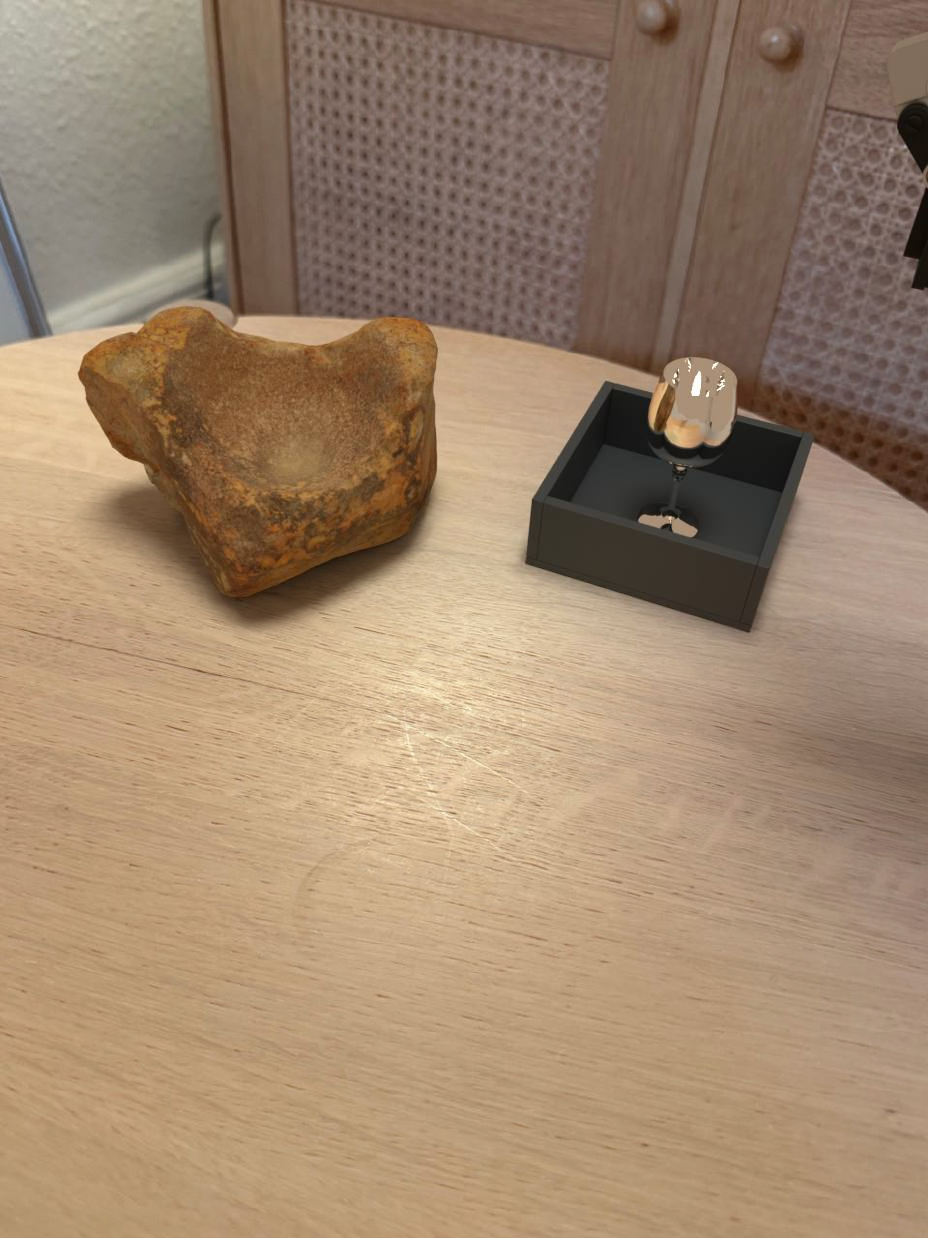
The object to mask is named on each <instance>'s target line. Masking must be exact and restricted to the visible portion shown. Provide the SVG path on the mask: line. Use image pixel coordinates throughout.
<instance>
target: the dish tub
mask: <svg viewBox="0 0 928 1238" xmlns="http://www.w3.org/2000/svg"><path fill="white" fill-rule="evenodd" d="M652 394H653V392H651V391H648V390H645V389H641V388H636V387H633V386H628V385H624V384H620V383H616V382H612V381H609V380H605V381H604V382H603V383H602V385H601V387H600V389H598V391H597V392H596V394H595V396H594V398H593V400H592V401H591V403H590V405H589V407H588V408H587V409H586V411H585V413H584V414H583V416H582V417H581V419H580V420H579V422H578V424H577V426H576V427H575V429H574V430H573V432H572V433H571V436H569V439H568V440H567V442H566V443H565V444H564V446H563V448H562V450H561V452H560V453H559V454H558V456H557V458H556V459H555V461H554V463H553V464H552V466H551V468H550V469H549V471H548V472H547V473H546V476H545V478H543V480H542V482H541V484H540V485H539V487H538V489H537V490H536V492H535V493H534V495H533V497H532V498H531V503H530V515H529V524H528V534H527V544H526V553H525V554H526V555H525V564H528V565H530V566H534V567H537V568H540V569H543V570H547V571H551V572H553V573H557V574H560V575H563V576H566V577H569V578H572V579H576V580H580V581H581V582H582V581H583V582H586V583H589V584H592V585H595V586H599V587H602V588H605V589H608V590H612V591H614V592H619V593H621V594H625V595H628V596H631V597H634V598H638V599H641V600H644V601H647V602H651V603H655V604H657V605H661V606H663V607H667V608H670V609H673V610H676V611H680V612H683V613H686V614H689V615H692V616H696V617H699V618H703V619H705V620H709V621H712V622H715V623H718V624H722V625H726V626H728V627H731V628H735V629H738V630H742V631H745V632H748V633H750V632H751V630H752V626H753V624H754V621H755V618H756V614H757V613H758V609H759V606H760V604H761V603H760V602H761V600H762V596H763V593H764V590H765V588H766V585H767V583H768V582H767V581H768V579H769V577H770V573H771V570H772V567H773V564H774V561H775V559H776V555H777V552H778V549H779V546H780V543H781V540H782V539H783V538H782V537H783V534H784V532H785V529H786V525H787V522H788V520H789V517H790V514H791V510H792V508H793V504H794V502H795V499H796V496H797V492H798V489H799V486H800V483H801V480H802V477H803V473H804V471H805V468H806V465H807V461H808V458H809V455H810V453H811V448H812V446H813V442H814V440H815V436H816V434H815V433H811V432H808V431H803V430H799V429H796V428H792V427H788V426H784V425H781V424H776V423H773V422H770V421H765V420H762V419H761V420H760V419H756V418H754V417H750V416H746V415H745V416H744V415H741V414H738V413H737V421H736V426H735V431H734V434H733V437H732V440H731V442H730V444H729V446H728V448H727V449H726V451H725V452H724V453H723V454H722V455H721V456H720V457H719V458H718V459H717V460H715V461H714V462H712V463H710V464H708V465H705V466H702V467H697V468H687V474H686V476H685V478H684V480H683V481H682V483H681V486H680V488H679V491H678V496H677V501H676V504H678V505H681V506H683V507H685V508H687V509H689V510H690V511H691V512H693V513H694V514H695V515H696V517H697V518H698V520H699V523H700V529H699V532H698V534H697V535H696V536H695V537H694V538H691V537H688V536H684V535H681V534H677V533H674V532H670V531H667V530H664V529H660V528H657V527H653V526H650V525H646V524H643V523H639V522H637V516H638V513H639V512H640V510H641V509H642V508H644V507H645V506H647V505H649V504H653V503H658V502H668V503H669V502H670V497H671V493H672V469H673V467H674V465H672V464H669V463H667V462H665V461H663V460H662V459H661V458H659V457H658V456H657V455H656V454H655V453H654V451H653V450H652V449H651V447H650V445H649V443H648V441H647V437H646V430H645V424H646V414H647V410H648V406H649V402H650V400H651V397H652Z"/></svg>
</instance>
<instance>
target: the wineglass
mask: <svg viewBox="0 0 928 1238" xmlns="http://www.w3.org/2000/svg"><path fill="white" fill-rule="evenodd" d="M652 393H653V394H652V397H651V400H650V402H649V406H648V410H647V414H646V424H645V430H646V437H647V441H648V443H649V445H650V447H651V449H652V450H653V451H654V453H655V454H656V455H657V456H658V457H659V458H661V459H662V460H663V461H665V462H667V463H669V464H672V465H674V467H673V469H672V493H671V497H670V502H669V503H668V502H658V503H653V504H649V505H647V506H645V507H644V508H642V509H641V510H640V512H639V513H638V516H637V522H639V523H643V524H646V525H650V526H653V527H657V528H660V529H664V530H667V531H670V532H674V533H677V534H681V535H684V536H688V537H691V538H694V537H695V536H696V535H697V534H698V532H699V529H700V523H699V520H698V518H697V517H696V515H695V514H694V513H693V512H691V511H690V510H689V509H687V508H685V507H683V506H681V505H678V504H676V501H677V496H678V491H679V488H680V486H681V483H682V481H683V480H684V478H685V476H686V474H687V468H697V467H702V466H705V465H708V464H710V463H712V462H714V461H715V460H717V459H718V458H719V457H720V456H721V455H722V454H723V453H724V452H725V451H726V449H727V448H728V446H729V444H730V442H731V440H732V437H733V434H734V431H735V426H736V421H737V414H738V407H739V398H738V397H739V395H738V394H739V393H738V378H737V376H736V374H735V373H734V371H733V370H732V369H730V368H729V367H728V366H727V365H725V364H723V363H721V362H719V361H716V360H713V359H710V358H705V357H700V356H699V357H698V356H697V357H696V356H689V357H680V358H677V359H675V360H672V361H670V362H668V363H667V364H666V366H665V367H664V369H663V371H662V373H661V375H660V377H659V379H658V381H657V383H656V385H655V387H654V390H653V392H652Z"/></svg>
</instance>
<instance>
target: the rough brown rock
mask: <svg viewBox="0 0 928 1238" xmlns="http://www.w3.org/2000/svg"><path fill="white" fill-rule="evenodd" d="M438 353H439V348H438V343H437V341H436V339H435V336H434V333H433V331H432V330H431V328H430V327H429V326H428V325H427V324H425V322H423V321H422V320H419V319H416V318H409V317H402V316H382V317H379V318H376V319H373V320H371V321H369V322H367V323H365V324H363V325H362V326H361V327H360V328H359V329H357V330H356V331H354V332H351V333H349V334H347V335H345V336H343V337H341V338H338V339H335V340H332V341H331V342H327V343H323V344H319V345H310V344H309V345H308V344H305V343H299V342H292V341H282V340H281V341H277V340H273V339H270V338H267V337H264V336H262V335H255V334H249V333H245V332H241V331H237V330H234V329H233V328H231V327H229V326H228V325H227V323H224V322H223V321H222V320H221V319H219V318H217V317H216V316H215V315H214V314H213V313H212V312H211V311H210V310H208V309H205V308H203V307H200V306H191V305H183V306H178V307H171V308H167V309H164V310H161V311H159V312H158V313H156V314H155V315H154V316H152V317H151V318H150V319H149V320H148V321H147V322H146V323H144V325H142V327H141V328H140V329H139V330H138V331H137V332H133V331H129V332H125V333H121V334H118V335H115V336H112V337H109V338H107V339H105V340H102V341H101V342H99V343H98V344H97V345H95V346H94V347H93V348H91V349H90V350H88V351H87V352H86V353H85V354H83V356H82V359H81V363H80V366H79V370H78V371H77V377H78V380H79V381H80V383H81V385H82V387H84V393H85V401H86V403H87V406H88V407H89V410H90V411H91V413H92V415H93V416H94V418H95V420H96V421H97V423H98V425H99V426H100V428H101V430H102V432H103V433H104V435H105V437H106V439H107V440H108V441H109V444H110V446H111V448H112V449H114V450H115V451H117V452H118V454H119V455H121V456H123V457H124V458H125V459H127V460H130V461H134V462H138V463H140V464H142V465H143V467H144V470H145V473H146V475H147V478H148V480H149V482H150V483H151V484H152V485H154V486H155V487H156V489H158V491H159V492H160V493H161V494H162V496H163V497H164V498H165V500H166V501H167V503H168V504H169V505H170V506H171V507H172V508H173V509H175V510H177V511H178V512H180V513H181V514H182V516H183V518H184V519H183V520H184V522H185V524H186V529H187V532H188V534H189V537H190V539H191V541H192V543H193V545H194V548H196V549H197V551H198V552H199V554H200V556H201V558H202V560H203V562H204V564H205V566H206V569H207V571H208V573H209V576H210V577H211V580H212V582H213V583H214V585H215V587H216V588H217V590H218V591H219V592H220V593H221V594H222V595H225V596H228V597H230V598H242V597H244V598H245V597H250V596H253V595H254V594H257V593H259V592H262V591H264V590H267V589H270V588H273V587H276V586H278V585H280V584H282V583H284V582H286V581H288V580H289V579H292V578H294V577H297V576H299V575H301V574H303V573H305V572H306V571H309V570H310V569H312V568H314V567H317V566H319V565H321V564H324V563H327V562H329V561H331V560H332V559H335V558H339V557H342V556H345V555H348V554H351V553H354V552H357V551H361V550H366V549H370V548H374V547H378V546H381V545H384V544H387V543H391V542H392V541H395V540H397V539H399V538H401V537H402V536H404V535H406V534H408V533H409V532H410V531H411V529H412V527H413V526H414V524H415V521H416V519H417V517H418V515H419V514H420V513H421V511H422V509H423V508H424V507H425V506H426V503H427V502H428V499H429V496H430V493H431V490H432V488H433V487H434V486H433V485H434V483H435V480H436V476H437V472H438V440H437V439H438V438H437V426H436V425H437V424H436V400H435V399H436V398H435V394H434V386H435V375H436V370H437V360H438Z"/></svg>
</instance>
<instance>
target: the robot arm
mask: <svg viewBox="0 0 928 1238" xmlns="http://www.w3.org/2000/svg"><path fill="white" fill-rule="evenodd" d="M886 71H887V74H888V75H887V76H888V81H889V86H890V92H891V97H892V104H893V107H894V109H895V110H894V111H895V115H896V121H897V122H896V129H897V132H898V134H899V136H900V138H901V139H902V141H903V143H904V144H905V146H906V148H907V150H908V151H909V154H910V155H911V157H912V158H913V160H914V162H915V164H916V165H917V167H918V168H919V170H920V172H921V174H922V183H923V185H924V190H923V191H924V192H923V194H922V197H921V200H920V202H919V205H918V208H917V212H916V215H915V218H914V221H913V223H912V226H911V230H910V232H909V235H908V238H907V242H906V244H905V248H904V251H903V254H902V257H904V258H909V259H914V260H918V261H917V264H916V267H915V272H914V275H913V279H912V283H911V287H910V288H911V289H912V290H913V289H914V290H919V291H925V289H928V31H925V32H923V33H919V34H916V35H913V36H910V37H907V38H904V39H901V40H900V41H898V42H896V44H895V45H893V47H892V49H891V51H890V54H889V55H888V58H887V61H886Z"/></svg>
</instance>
